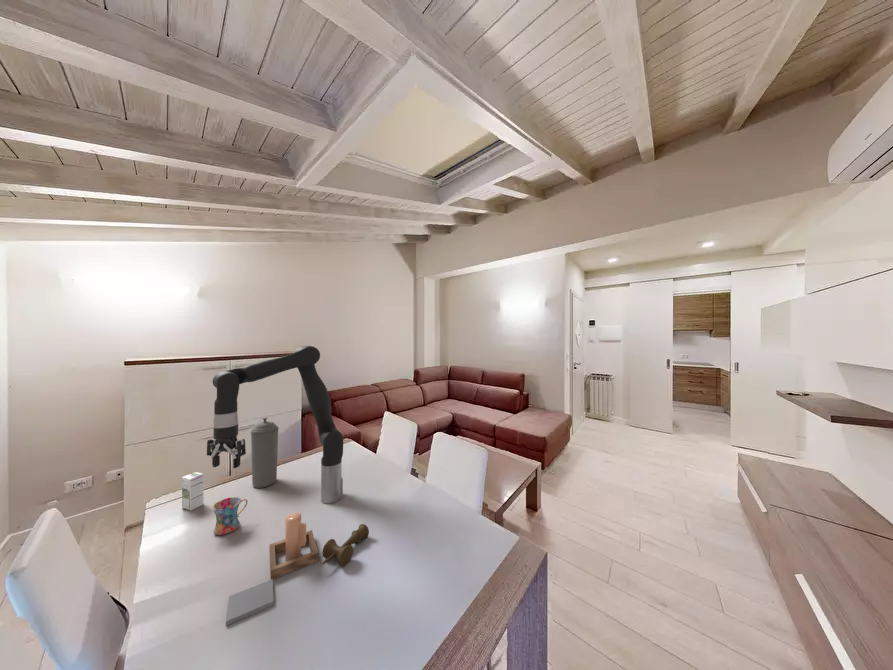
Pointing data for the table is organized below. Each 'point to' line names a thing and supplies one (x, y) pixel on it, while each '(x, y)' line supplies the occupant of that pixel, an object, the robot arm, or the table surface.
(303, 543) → the peach cylinder post
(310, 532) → the walnut collar
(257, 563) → the table surface
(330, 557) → the kendama
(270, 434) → the canister
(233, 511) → the mug
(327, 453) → the robot arm
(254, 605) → the slate mat
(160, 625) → the table surface
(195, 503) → the syrup box
